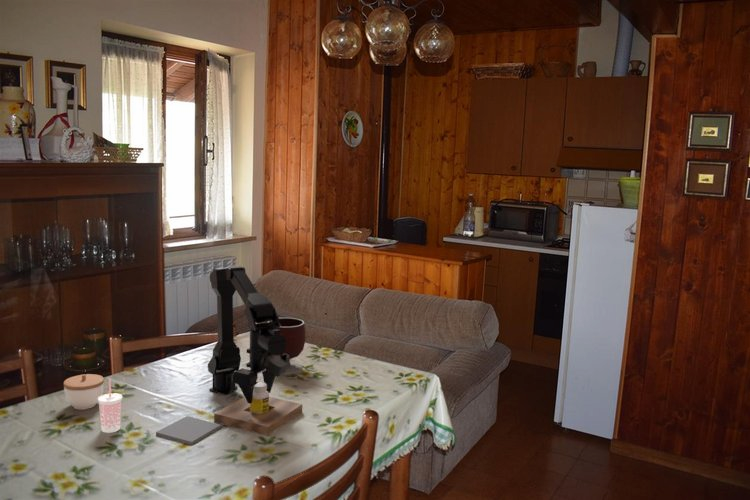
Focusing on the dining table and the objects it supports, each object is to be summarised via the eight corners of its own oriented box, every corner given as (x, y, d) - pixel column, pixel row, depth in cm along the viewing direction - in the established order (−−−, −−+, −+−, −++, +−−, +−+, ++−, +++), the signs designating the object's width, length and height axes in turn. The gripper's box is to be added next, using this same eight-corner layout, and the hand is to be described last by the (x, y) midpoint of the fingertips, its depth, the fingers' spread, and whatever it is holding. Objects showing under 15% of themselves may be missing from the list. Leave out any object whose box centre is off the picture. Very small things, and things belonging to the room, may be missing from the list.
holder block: (214, 421, 176) (214, 413, 176) (251, 400, 192) (251, 392, 192) (267, 435, 169) (267, 426, 168) (302, 412, 185) (302, 404, 185)
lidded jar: (58, 404, 184) (57, 374, 182) (95, 395, 191) (94, 366, 190) (73, 415, 176) (72, 384, 175) (110, 406, 184) (110, 375, 183)
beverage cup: (128, 426, 171) (127, 377, 169) (111, 435, 165) (110, 384, 163) (110, 422, 173) (108, 374, 171) (93, 431, 167) (92, 381, 165)
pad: (156, 434, 167) (155, 432, 166) (186, 418, 177) (186, 416, 177) (191, 444, 162) (191, 441, 162) (221, 427, 173) (221, 424, 172)
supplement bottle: (264, 421, 177) (265, 388, 176) (246, 419, 178) (246, 386, 177) (271, 414, 183) (271, 382, 181) (254, 412, 184) (254, 380, 182)
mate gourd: (284, 360, 232) (285, 307, 229) (312, 368, 224) (314, 314, 221) (253, 370, 219) (254, 315, 216) (282, 379, 211) (283, 322, 208)
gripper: (265, 359, 166) (264, 415, 168) (301, 341, 183) (300, 392, 185) (230, 352, 170) (230, 406, 173) (269, 335, 187) (268, 385, 189)
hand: (259, 397), depth 180 cm, fingers open, 9 cm apart
